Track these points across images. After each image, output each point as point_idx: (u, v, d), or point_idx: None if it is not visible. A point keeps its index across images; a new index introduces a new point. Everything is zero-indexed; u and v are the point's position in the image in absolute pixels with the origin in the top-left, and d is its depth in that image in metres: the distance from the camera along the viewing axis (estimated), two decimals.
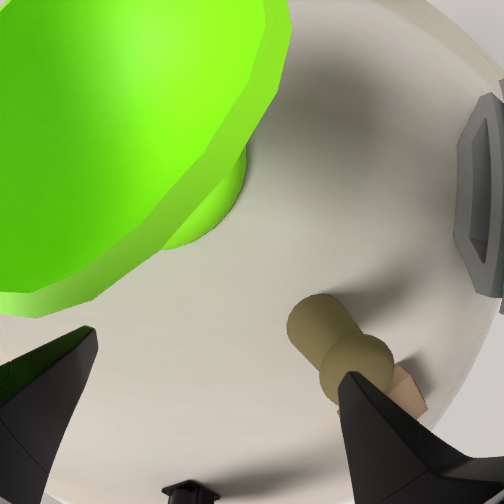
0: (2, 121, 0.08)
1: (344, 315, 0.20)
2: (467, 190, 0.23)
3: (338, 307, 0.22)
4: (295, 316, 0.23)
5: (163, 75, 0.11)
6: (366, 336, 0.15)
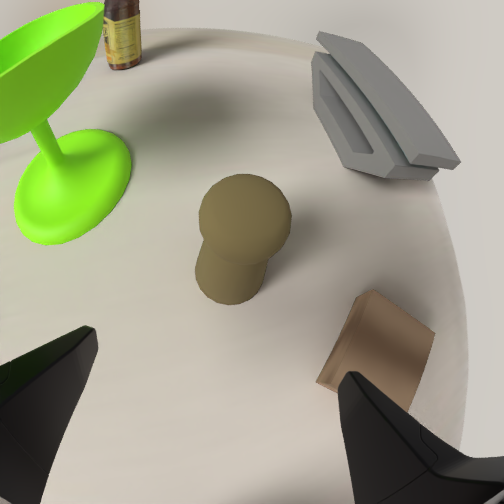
0: None
1: None
2: (333, 126, 0.31)
3: None
4: None
5: None
6: None
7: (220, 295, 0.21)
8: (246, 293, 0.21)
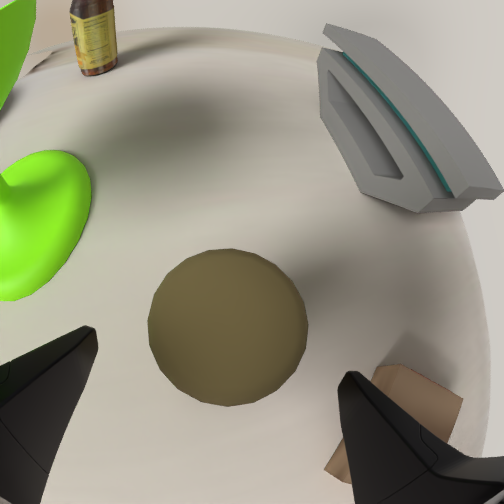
0: None
1: None
2: (347, 140, 0.25)
3: None
4: None
5: None
6: None
7: None
8: None
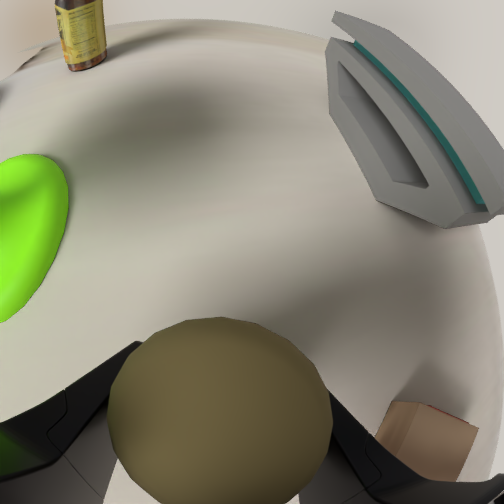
0: None
1: None
2: (361, 139, 0.22)
3: None
4: None
5: None
6: None
7: None
8: None
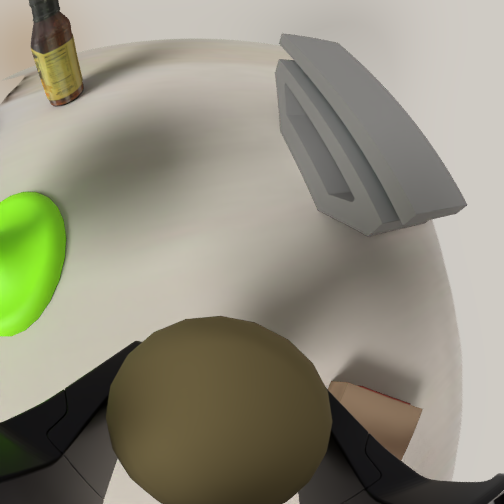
0: None
1: None
2: (304, 157, 0.27)
3: None
4: None
5: None
6: None
7: None
8: None
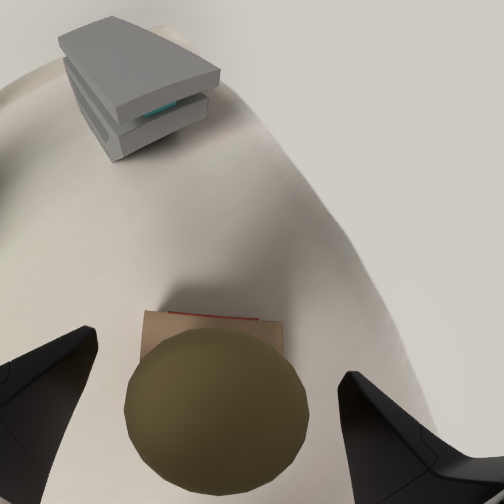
0: None
1: None
2: (92, 124, 0.23)
3: None
4: None
5: None
6: None
7: None
8: None
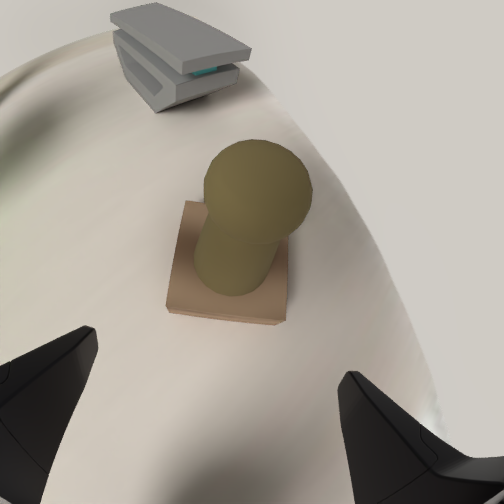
0: None
1: None
2: (138, 84, 0.29)
3: None
4: None
5: None
6: None
7: (221, 284, 0.18)
8: (251, 283, 0.19)
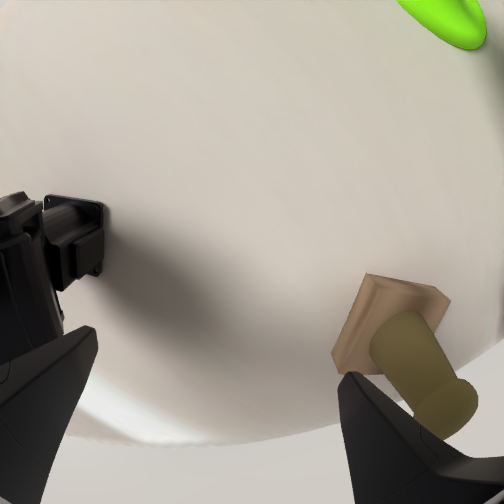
0: None
1: None
2: None
3: None
4: (420, 319, 0.19)
5: None
6: None
7: (386, 343, 0.19)
8: (380, 363, 0.19)
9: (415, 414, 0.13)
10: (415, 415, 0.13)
